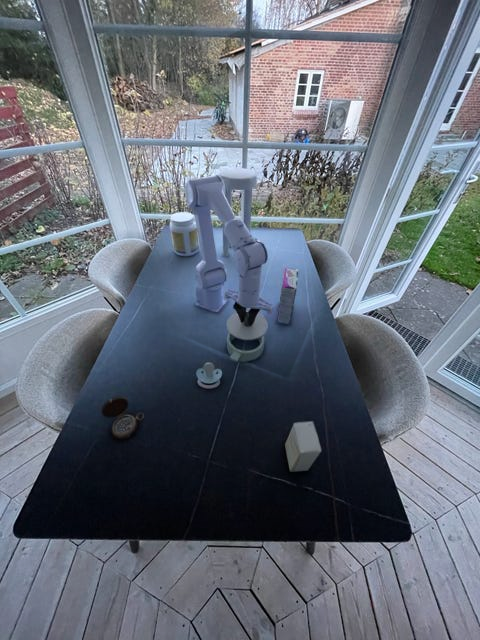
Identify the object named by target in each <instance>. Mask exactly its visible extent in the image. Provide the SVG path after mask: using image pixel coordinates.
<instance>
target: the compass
mask: <svg viewBox="0 0 480 640" xmlns="http://www.w3.org/2000/svg"><path fill="white" fill-rule="evenodd" d="M128 408H129V401H128V399H127V398H126V397H125V396H114V397H111V398H110V399H108V400H107V401H105V402H104V403H103V404H102V406H101V411H100V412H101V415H102V416H103V417H104V418H107V419H112V418H115V419H114V420H113V422H112V423H111V427H110V433H111V435H112V436H113V437H114V438H116V439H118V440H123V439H126V438H130V436H132V435H133V434H134V433H135V431H137V428H138V421H141V420H142V419H143V418H144V417H145V416H144V413H143V412H139V413H137V414H136V416H135V415H134V414H132V413H125V412H126V411H127V410H128ZM141 414H142V418H139V415H141Z"/></svg>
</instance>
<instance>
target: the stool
mask: <svg viewBox="0 0 480 640" xmlns="http://www.w3.org/2000/svg"><path fill="white" fill-rule="evenodd" d="M217 175H219V176H220V177H221V178H222V180H223V182H224V184H225V197H226V199H227V201H228V203H229V205H230V207H231V209H232V210H233V206H232V201H233V199H232V198H233V197H232V194H233V191H234V190H235V191H243V218H242V220H243V222H244V223H245V225H246V227H247V228H248V230H249V231H250V232H251V227H252V226H251V225H252V206H253V189H254V188H255V187H257V184H258V172H256V171H255V170H253V169H249V168H242V167H232V168H231V167H230V168H225V169H221V170H220V171H219V172H218V174H217ZM232 190H233V191H232ZM224 227H225V226H224V225H223V224H222V256H223V257H229V254H230V253H229V250H230V248H232V246H231V244H230V243H229V241H228V239H227V238H226V236H225V234H224Z"/></svg>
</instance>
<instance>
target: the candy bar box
mask: <svg viewBox="0 0 480 640" xmlns="http://www.w3.org/2000/svg"><path fill="white" fill-rule="evenodd" d="M298 278H299V269H296V268H289V267H285V268H284V271H283V275H282V282H281V286H280V287H281V288H280V295H279V302H278V308H277V318H276V323H279V324H286V325H290V324H291V320H292V315H293V310H294V305H295V299H296V296H297V295H296V294H297V289H298V280H299V279H298Z"/></svg>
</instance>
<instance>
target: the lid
mask: <svg viewBox="0 0 480 640" xmlns="http://www.w3.org/2000/svg"><path fill="white" fill-rule="evenodd" d="M249 310H250V309H249ZM249 310H248V309H246V312H245V313H244V322H243V323H241V322H240V318H239V316H238V314H237V312H236V311H235V312H233V313H232V314H231V315H230V316H228V318H227V320H226V329H227V332H228V333H229V332H230V334H231V335H233V336H234V337H235V338H236V339H239V340H243V341H254V340H257V339H258V338H260V337H261V336H263V335H264V336H265V334H266V333H267V331H268V328H269V324H268V321H267V319H266V318H265V316H264V315H262V314H261V313H259V312H258V314H257V316H256V318H255V321H254V323H253V325H252V326H249V314H248V311H249Z"/></svg>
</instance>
